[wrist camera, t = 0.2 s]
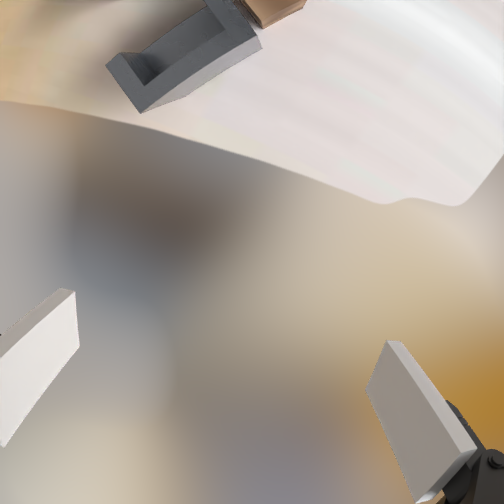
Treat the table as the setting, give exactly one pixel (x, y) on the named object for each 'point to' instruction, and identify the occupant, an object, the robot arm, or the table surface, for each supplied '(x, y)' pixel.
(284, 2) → the walnut rail
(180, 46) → the cup bracket stand
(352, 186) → the table surface
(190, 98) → the table surface
